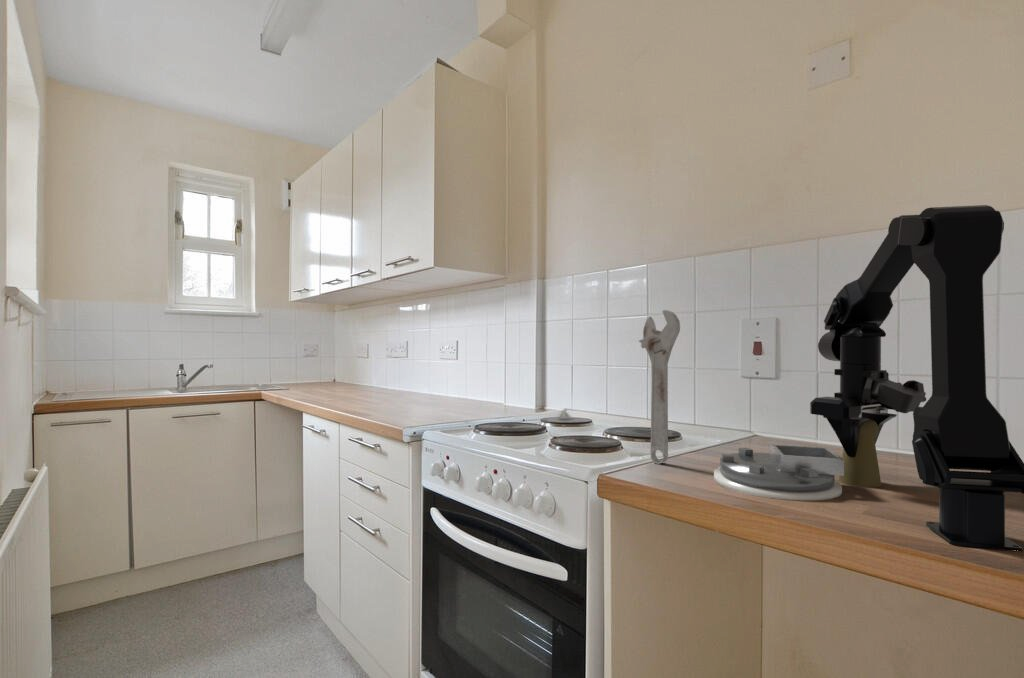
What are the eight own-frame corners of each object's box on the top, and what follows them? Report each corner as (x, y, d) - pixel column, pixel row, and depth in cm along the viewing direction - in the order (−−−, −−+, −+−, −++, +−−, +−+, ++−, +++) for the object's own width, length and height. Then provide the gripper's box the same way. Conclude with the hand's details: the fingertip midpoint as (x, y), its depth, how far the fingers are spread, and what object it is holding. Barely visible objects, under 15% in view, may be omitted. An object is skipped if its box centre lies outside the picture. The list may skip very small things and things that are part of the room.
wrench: (637, 460, 100) (638, 310, 100) (642, 458, 102) (642, 311, 102) (675, 467, 95) (676, 309, 95) (680, 465, 96) (680, 309, 96)
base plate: (860, 508, 72) (860, 499, 72) (718, 495, 78) (718, 487, 78) (822, 473, 91) (822, 466, 91) (710, 465, 96) (710, 458, 96)
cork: (867, 477, 88) (867, 415, 88) (890, 488, 82) (890, 421, 82) (831, 476, 89) (831, 414, 89) (851, 487, 83) (851, 420, 83)
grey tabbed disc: (725, 485, 79) (725, 457, 79) (716, 460, 95) (716, 436, 95) (853, 496, 74) (853, 466, 74) (820, 467, 90) (820, 442, 90)
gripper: (882, 368, 74) (882, 473, 74) (945, 364, 82) (944, 459, 82) (808, 364, 84) (808, 457, 84) (871, 361, 92) (870, 446, 92)
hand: (859, 455), depth 85 cm, fingers closed on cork, 4 cm apart
